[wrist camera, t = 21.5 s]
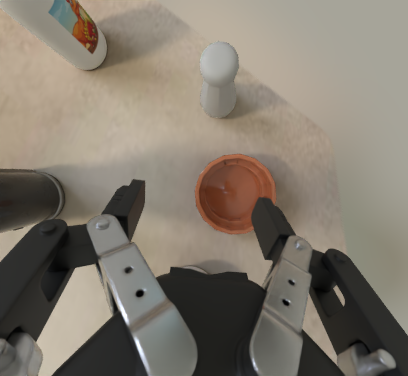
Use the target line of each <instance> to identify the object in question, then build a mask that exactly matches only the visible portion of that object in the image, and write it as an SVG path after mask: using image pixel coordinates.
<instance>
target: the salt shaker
mask: <svg viewBox="0 0 408 376" xmlns="http://www.w3.org/2000/svg"><path fill="white" fill-rule="evenodd" d="M238 68H239V64H238V54H237V52H236V50H235V49H234V47H232V46H231V45H230V44H229V43H226V42H220V41H218V42H215V43H212V44H210V45H209V46H208V47H207V48H206V49H205V50H204V51H203V53H202V56H201V58H200V72H201V75H202V77H203V79H204V81H203V86H202V90H201V95H200V101H201V106H202V108H203V110H204V112H205V113H206V114H208V115H209V116H211V117H215V118H221V117H224V116H227V115H228V114H229V113H230V112H231V111H232V110H233V108H234V106H235V103H236V90H235V84H234V79H235V76H236V74H237V71H238Z"/></svg>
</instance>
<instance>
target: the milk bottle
mask: <svg viewBox="0 0 408 376" xmlns="http://www.w3.org/2000/svg"><path fill="white" fill-rule="evenodd" d="M0 8H1V9H2V10H3V11H4V12H6V13H7V14H8V15H9V16H11V17H12V18H13V19H14V20H15V21H17V22H18V23H19V24H20V25H22V26H23V27H24V28H25V29H27V30H28V31H29V32H31V33H32V34H33V35H34V36H36V37H37V38H38V39H40V40H41V41H42V42H43V43H45V44H46V45H47V46H49V47H50V48H51V49H52V50H54V51H55V52H56V53H58V54H59V55H60V56H62V57H63V58H64V59H65V60H67V61H68V62H69V63H71V64H72V65H74V66H75V67H77V68H79V69H83V70H91V69H94V68H96V67H98V66H99V65H100V64H101V63H102V62H103V61H104V59H105V57H106V53H107V44H106V40H105V37H104V35H103V33H102V32H101V30H100V29H99V28H98V26H97V25H96V24H95V23H94V21H93V20H92V19H91V18H90V16H89V15H88V14H87V13H86V11H85V10H84V9H83V8H82V6H81V5H80V4H79V2H78V1H77V0H0Z"/></svg>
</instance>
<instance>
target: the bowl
mask: <svg viewBox="0 0 408 376" xmlns="http://www.w3.org/2000/svg"><path fill="white" fill-rule="evenodd" d="M259 197H264V198H270V199H271V200H272V202H273V204H274V205H275V202H276V187H275V182H274V180H273V178H272V176H271V174H270V172H269V170H268V169H267V168H266V167H265V166H264V165H263V164H261V163H260V162H259V161H258V160H257V159H255V158H252V157H248V156H245V155H242V154H234V155H224V156H222V157H220V158H218V159H216V160H214V161H212V162H211V163H209V164H208V166H207V167H206V168H205V169H204V170H203V172H202V173H201V174H200V175H199V178H198V181H197V185H196V188H195V198H196V206H197V208H198V210H199V212H200V214H201V216H202V218H203V219H204V220H205V221H206V222H207V223H208V224H209V225H211V226H212V227H213V228H214V229H216V230H218V231H221V232H224V233H227V234H244V233H248V232H250V231H252V230H254V228H253V225H252V222H251V214H252V211H253V209H254V206H255V204H256V202H257V199H258V198H259Z"/></svg>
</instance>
